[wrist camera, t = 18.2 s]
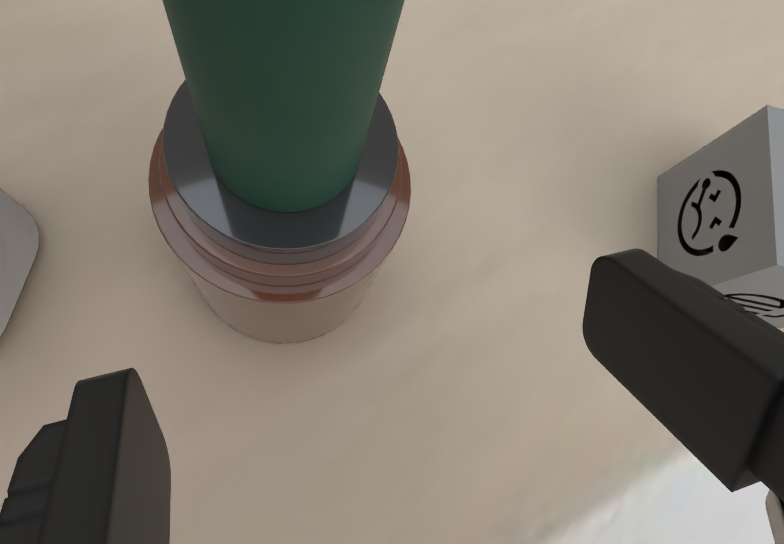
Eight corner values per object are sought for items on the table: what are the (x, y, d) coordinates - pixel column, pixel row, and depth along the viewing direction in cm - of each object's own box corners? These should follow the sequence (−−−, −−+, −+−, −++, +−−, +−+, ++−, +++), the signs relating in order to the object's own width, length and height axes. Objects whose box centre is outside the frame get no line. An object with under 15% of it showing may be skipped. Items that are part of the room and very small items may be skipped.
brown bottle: (155, 262, 33) (53, 138, 19) (280, 146, 37) (276, -34, 22) (291, 381, 33) (295, 349, 18) (404, 253, 36) (483, 140, 22)
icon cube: (780, 327, 40) (933, 298, 31) (657, 303, 39) (777, 264, 29) (773, 203, 43) (910, 142, 34) (657, 177, 42) (767, 105, 32)
